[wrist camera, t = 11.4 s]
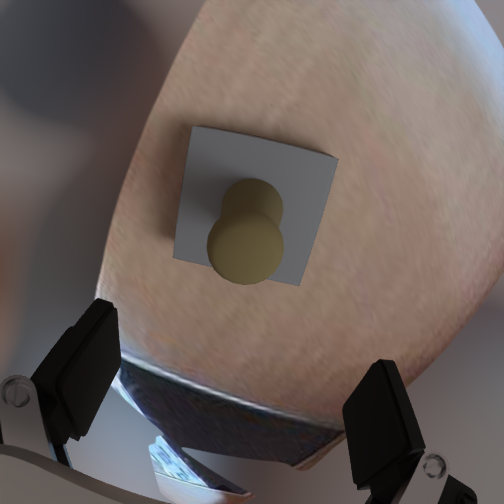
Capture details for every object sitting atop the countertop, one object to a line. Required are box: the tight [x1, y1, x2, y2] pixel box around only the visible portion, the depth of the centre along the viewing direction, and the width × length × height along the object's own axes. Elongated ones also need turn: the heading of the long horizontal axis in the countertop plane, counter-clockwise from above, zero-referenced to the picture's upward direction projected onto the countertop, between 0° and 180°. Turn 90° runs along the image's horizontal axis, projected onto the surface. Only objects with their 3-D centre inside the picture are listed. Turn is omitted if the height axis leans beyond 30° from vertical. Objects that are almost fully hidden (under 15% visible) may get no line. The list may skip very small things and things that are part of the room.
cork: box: [206, 178, 284, 285], centre depth 23 cm, size 6×6×11 cm
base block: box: [173, 126, 339, 286], centre depth 30 cm, size 14×14×4 cm
